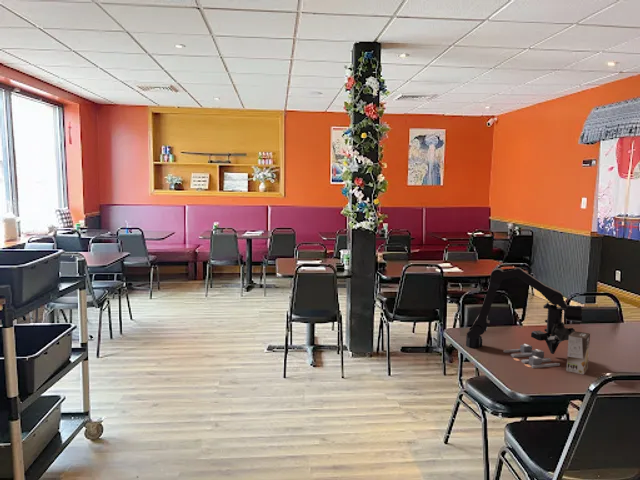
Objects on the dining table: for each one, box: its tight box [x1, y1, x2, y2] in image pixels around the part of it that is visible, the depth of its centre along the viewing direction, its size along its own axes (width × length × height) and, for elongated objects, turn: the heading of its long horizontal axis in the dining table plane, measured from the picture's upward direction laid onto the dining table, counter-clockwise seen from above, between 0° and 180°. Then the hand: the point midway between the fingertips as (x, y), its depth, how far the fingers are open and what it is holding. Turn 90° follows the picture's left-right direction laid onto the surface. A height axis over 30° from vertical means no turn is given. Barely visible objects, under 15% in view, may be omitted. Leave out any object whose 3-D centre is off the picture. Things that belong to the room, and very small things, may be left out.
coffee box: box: [565, 331, 591, 375], centre depth 189 cm, size 9×6×16 cm
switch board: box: [503, 348, 561, 369], centre depth 202 cm, size 16×20×2 cm
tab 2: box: [530, 348, 545, 358], centre depth 202 cm, size 4×3×4 cm
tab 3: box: [528, 356, 543, 366], centre depth 194 cm, size 4×3×4 cm
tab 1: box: [519, 343, 533, 353], centre depth 210 cm, size 4×3×4 cm
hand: (552, 353), depth 204 cm, fingers closed
